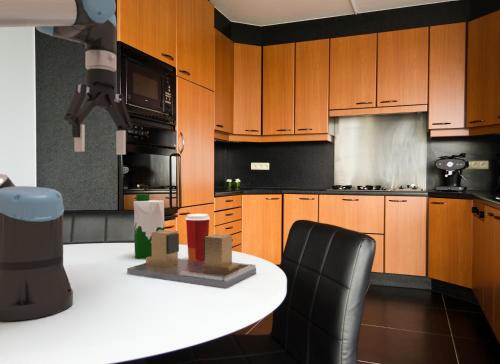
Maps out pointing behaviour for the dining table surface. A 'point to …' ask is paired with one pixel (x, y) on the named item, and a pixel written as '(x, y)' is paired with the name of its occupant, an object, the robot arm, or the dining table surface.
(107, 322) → the dining table surface
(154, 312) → the dining table surface
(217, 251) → the upright wooden block
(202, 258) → the paper cup
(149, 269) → the gray tray with block
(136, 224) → the milk carton
